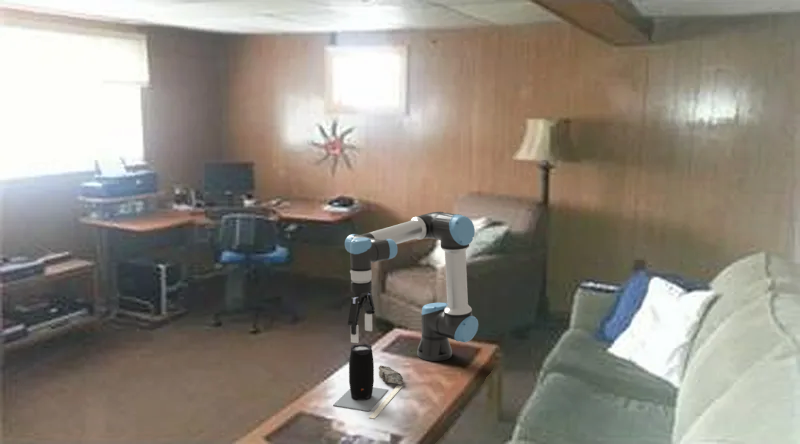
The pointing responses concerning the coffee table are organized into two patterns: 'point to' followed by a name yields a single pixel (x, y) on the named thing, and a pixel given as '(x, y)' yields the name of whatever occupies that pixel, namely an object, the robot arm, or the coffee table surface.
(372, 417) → the strip
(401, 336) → the coffee table surface
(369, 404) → the mat
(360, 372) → the portable speaker
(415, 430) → the coffee table surface
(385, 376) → the mineral rock
